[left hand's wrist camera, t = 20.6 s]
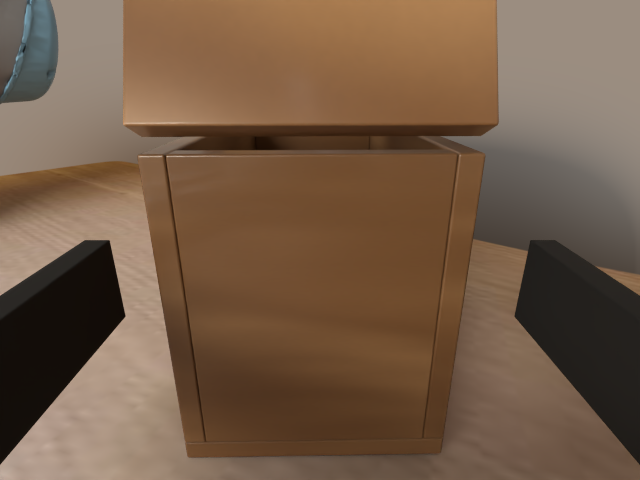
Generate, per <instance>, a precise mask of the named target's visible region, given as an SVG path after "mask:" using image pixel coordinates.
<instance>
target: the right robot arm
mask: <svg viewBox="0 0 640 480" xmlns="http://www.w3.org/2000/svg"><path fill="white" fill-rule="evenodd" d="M57 61H58V33H57V25H56V20H55V15H54V11H53V7H52V4H51V1H50V0H0V104H1V103H9V102H23V101H32V100H36V99H38V98H40V97H42V96H43V95H44V94H45V93H46V92H47V91H48V90H49V88H50V86H51V84H52V82H53V80H54V77H55V72H56V67H57Z"/></svg>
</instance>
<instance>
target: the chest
mask: <svg viewBox="0 0 640 480" xmlns="http://www.w3.org/2000/svg"><path fill="white" fill-rule="evenodd" d="M137 158H138V164H139V170H140V176H141V182H142V188H143V194H144V200H145V206H146V212H147V218H148V223H149V229H150V235H151V241H152V247H153V253H154V259H155V265H156V271H157V277H158V283H159V289H160V295H161V301H162V307H163V313H164V319H165V325H166V331H167V336H168V342H169V348H170V354H171V360H172V366H173V372H174V378H175V384H176V390H177V396H178V402H179V408H180V414H181V420H182V426H183V432H184V438H185V441H186V450H187V455H188V457H243V456H304V455H366V454H427V453H440V452H441V447H442V440H443V439H442V437H443V433H444V427H445V420H446V413H447V407H448V400H449V393H450V387H451V380H452V374H453V367H454V360H455V354H456V347H457V340H458V334H459V327H460V321H461V314H462V307H463V301H464V294H465V288H466V281H467V274H468V268H469V261H470V254H471V248H472V241H473V234H474V228H475V221H476V215H477V208H478V201H479V195H480V188H481V182H482V175H483V168H484V162H485V154H484V153H482V152H479V151H477V150H474V149H472V148H469V147H466V146H464V145H461V144H459V143H456V142H454V141H451V140H448V139H446V138H443V137H441V136H275V137H182V138H180V139H177V140H175V141H172V142H169V143H167V144H164V145H162V146H159V147H157V148H154V149H152V150H149V151H146V152H144V153H141V154H139V155H138V156H137Z"/></svg>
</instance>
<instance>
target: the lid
mask: <svg viewBox="0 0 640 480" xmlns="http://www.w3.org/2000/svg"><path fill="white" fill-rule="evenodd" d="M123 4H124V5H123V124H124V126H125V127H127V128H129V129H130V130H132V131H133V132H135V133H136V134H138V135H139V136H141V137H275V136H481V135H483V134H485V133H486V132H488V131H489V130H491V129H492V128H494V127H495V126H497V125H498V122H499V117H498V55H497V0H123Z"/></svg>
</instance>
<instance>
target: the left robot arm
mask: <svg viewBox="0 0 640 480" xmlns="http://www.w3.org/2000/svg"><path fill="white" fill-rule="evenodd" d="M124 318H125V312H124V307H123V302H122V298H121V293H120V288H119V283H118V279H117V274H116V269H115V264H114V260H113V255H112V250H111V245H110V241H109V240H85V241H83V242H82V243H80V244H79V245H77V246H75V247H74V248H72V249H71V250H69V251H68V252H66V253H65V254H63V255H62V256H60V257H59V258H57V259H56V260H54V261H53V262H51V263H50V264H48V265H47V266H45V267H43V268H42V269H40V270H39V271H37V272H36V273H34V274H33V275H31V276H30V277H28V278H27V279H25V280H24V281H22V282H21V283H19V284H18V285H16V286H14V287H13V288H11V289H10V290H8V291H7V292H5V293H4V294H2V295H1V296H0V464H1V463H2V462H3V461H4V460H5V458H6V457H7V456H8V455H9V454H10V452H11V451H12V450H13V449H14V448H15V447H16V445H17V444H18V443H19V442H20V441H21V439H22V438H23V437H24V436H25V435H26V434H27V432H28V431H29V430H30V429H31V428H32V426H33V425H34V424H35V423H36V422H37V420H38V419H39V418H40V417H41V416H42V415H43V413H44V412H45V411H46V410H47V409H48V407H49V406H50V405H51V404H52V403H53V402H54V400H55V399H56V398H57V397H58V396H59V394H60V393H61V392H62V391H63V390H64V389H65V387H66V386H67V385H68V384H69V383H70V381H71V380H72V379H73V378H74V377H75V376H76V374H77V373H78V372H79V371H80V370H81V368H82V367H83V366H84V365H85V364H86V363H87V361H88V360H89V359H90V358H91V357H92V355H93V354H94V353H95V352H96V351H97V350H98V348H99V347H100V346H101V345H102V344H103V342H104V341H105V340H106V339H107V338H108V336H109V335H110V334H111V333H112V332H113V331H114V329H115V328H116V327H117V326H118V325H119V323H120V322H121V321H122V320H123V319H124ZM515 318H516V319H517V320H518V321H519V322H520V323H521V325H522V326H523V327H524V328H525V329H526V331H527V332H528V333H529V334H530V335H531V336H532V338H533V339H534V340H535V341H536V342H537V344H538V345H539V346H540V347H541V348H542V350H543V351H544V352H545V353H546V354H547V355H548V357H549V358H550V359H551V360H552V361H553V363H554V364H555V365H556V366H557V367H558V368H559V370H560V371H561V372H562V373H563V374H564V376H565V377H566V378H567V379H568V380H569V381H570V383H571V384H572V385H573V386H574V387H575V389H576V390H577V391H578V392H579V393H580V394H581V396H582V397H583V398H584V399H585V400H586V402H587V403H588V404H589V405H590V406H591V407H592V409H593V410H594V411H595V412H596V413H597V415H598V416H599V417H600V418H601V419H602V420H603V422H604V423H605V424H606V425H607V426H608V428H609V429H610V430H611V431H612V432H613V434H614V435H615V436H616V437H617V438H618V439H619V441H620V442H621V443H622V444H623V445H624V447H625V448H626V449H627V450H628V451H629V452H630V454H631V455H632V456H633V457H634V458H635V460H636V461H637V462H638V463H639V464H640V296H639V295H638V294H636V293H635V292H633V291H632V290H630V289H629V288H627V287H626V286H624V285H622V284H621V283H619V282H618V281H616V280H615V279H613V278H612V277H610V276H609V275H607V274H606V273H604V272H603V271H601V270H600V269H598V268H597V267H595V266H593V265H592V264H590V263H589V262H587V261H586V260H584V259H583V258H581V257H580V256H578V255H577V254H575V253H574V252H572V251H571V250H569V249H567V248H566V247H564V246H563V245H561V244H560V243H558V242H557V241H555V240H531V241H530V245H529V250H528V255H527V260H526V264H525V269H524V274H523V279H522V283H521V288H520V293H519V298H518V302H517V307H516V312H515Z"/></svg>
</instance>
